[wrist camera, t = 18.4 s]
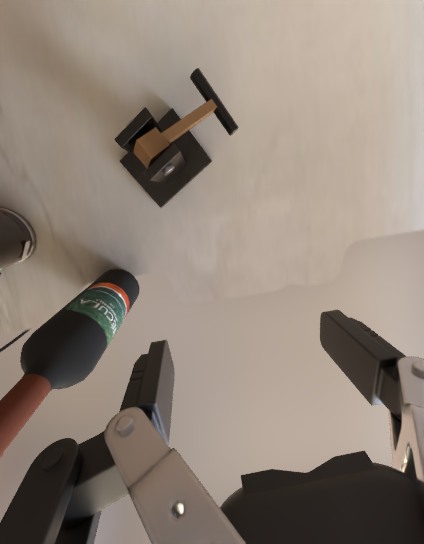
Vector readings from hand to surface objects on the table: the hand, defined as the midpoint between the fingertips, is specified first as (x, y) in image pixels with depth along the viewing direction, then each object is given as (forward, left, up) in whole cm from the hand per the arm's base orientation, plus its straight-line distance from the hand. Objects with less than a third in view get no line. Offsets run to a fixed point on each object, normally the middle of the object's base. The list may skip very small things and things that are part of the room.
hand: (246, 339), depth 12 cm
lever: (+5, +14, -22) cm, 27 cm away
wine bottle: (-21, +4, -31) cm, 37 cm away
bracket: (+1, +14, -30) cm, 33 cm away
